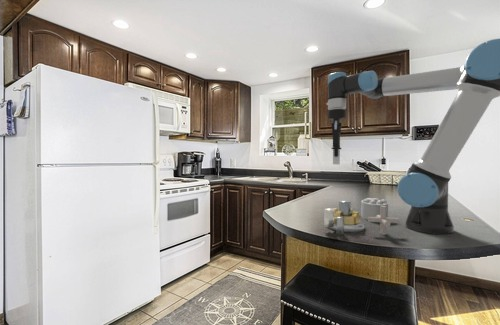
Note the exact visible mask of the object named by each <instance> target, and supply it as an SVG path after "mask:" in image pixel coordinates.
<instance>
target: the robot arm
mask: <svg viewBox="0 0 500 325" xmlns="http://www.w3.org/2000/svg"><path fill="white" fill-rule="evenodd" d="M452 90H458V92H457V94H456V95H455V97H454V99H453V101H452V103H451V105H450V106H449V107H448V109H447V112H446V114H445V115H444V117H443V119H442V120H441V122H440V124H439V126H438V128H437V129H436V131H435V133H434V135H433V136H432V138H431V140H430V142H429V144H428V146H427V147H426V149H425V151H424V153H423V155H422V156H421V158H420V159H419V160H416V161H413V162H412V163H411V166H410V167H409V169H408V170H407V173H406V174H405V175H404V176H402V177H401V178H400V180H399V181H398V183H397V193H398V196H399V197H400V199H401V201H403V203H405V204H407V205H408V206H410V208H409V211H408V213H407V216H406V219H405V227H406V228H408V229H411V230H413V231H418V232H422V233H426V234H435V235H437V234H438V235H448V234H453V233H454V229H455V228H454V224H453V221H452V218H451V215H450V212H449V182H451V181H450V180H451V179H452V175H451V174H450V170H451V168H452V167H453V165H454V163H455V161H456V160H457V158H458V156H459V155H460V153H461V152H462V150H463V149H464V147H465V145H466V143H467V142H468V140H469V139H470V137H471V135H472V134H473V132H474V130H475V129H476V127H477V125H478V124H479V122H480V120H481V119H482V117H483V116H484V113H485V112H486V111H487V109H488V107H489V105H490V104H491V103H492V101H493V100H494V99H495V98H498V97H500V38H493V39H490V40H486V41H484V42H482V43H480V44H478V45H477V46H475V47H474V48H473V49H472V50H471V51H470V52H469V53H468V55H467V57H466V59H465V63H463V65H461V66H460V67H459V66H458V67H452V68H446V69H438V70H432V71H431V70H430V71H424V72H417V73H411V74H410V73H409V74H401V75H397V76H396V75H395V76H390V77H381V78H378V74H377V72H376V71H374V70H368V71H365V70H364V71H362V72H359V73H355V74H351V75H347V73H346V72H344V71H337V72H332V73H330V74H329V75H328V78H327V102H326V104H325V105H326V106H327V110H328V111H327V119H328V120H329V121H332V123H331V133H332V147H331V150H332V164H333V165H340V164H341V163H340V161H341V160H340V158H341V150H342V147H341V133H342V127H343V125H342V122H341V120H345V119H347V110H346V109H347V96H348V95H352V94H360V95H362V96H365V97H367V98H368V99H373V100H374V99H375V100H377V99H379V98H381V97H387V96H398V95H399V96H400V95H401V96H402V95H410V94H420V93H429V92H430V93H433V92H442V91H444V92H445V91H452Z"/></svg>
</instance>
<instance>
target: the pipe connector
mask: <svg viewBox="0 0 500 325" xmlns="http://www.w3.org/2000/svg"><path fill="white" fill-rule="evenodd" d="M366 221H367V222H368V223H379V234H380V235H381V236H386V235H387V232H386V230H387V229H386V228H387V227H390V226H391V224H400V218H398V217H388V218H386V206H380V215H377V216H376V217H368V218H367V219H366Z"/></svg>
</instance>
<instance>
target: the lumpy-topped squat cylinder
mask: <svg viewBox="0 0 500 325" xmlns="http://www.w3.org/2000/svg"><path fill="white" fill-rule="evenodd" d="M360 201H361V202H360V203H361V204H360V218H362V219H364V220H367V218H368V217H376V216H377V215H380V206H386V218H389V203H388V202H387V200H386V199H383V198H382V199H379V198H377V197H376V198H375V197H374V198H373V197H366V198H364V199H362V200H360Z"/></svg>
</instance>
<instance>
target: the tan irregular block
mask: <svg viewBox="0 0 500 325" xmlns="http://www.w3.org/2000/svg"><path fill="white" fill-rule="evenodd" d="M323 212H324V214H323V218H324V219H323V222H324V223H323V226H324V227H327V228H328V227H334V226H335V224H336V219H337V217H344V224H345V225H354V224H359V223H360V221H361V214H360V212H359V211H355V210H354V208H351V216H342V212H340V211H339V208H336V207H333V208H324V211H323Z"/></svg>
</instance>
